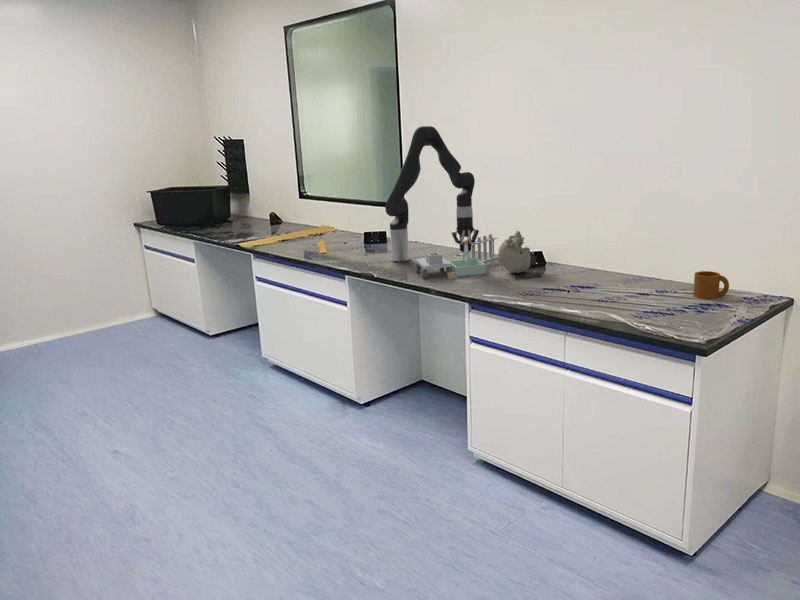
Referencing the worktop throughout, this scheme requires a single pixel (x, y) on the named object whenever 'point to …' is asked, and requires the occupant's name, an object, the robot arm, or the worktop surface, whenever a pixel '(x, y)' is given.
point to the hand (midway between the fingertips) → (465, 251)
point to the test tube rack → (484, 248)
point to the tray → (468, 267)
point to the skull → (514, 254)
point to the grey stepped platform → (433, 264)
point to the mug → (709, 285)
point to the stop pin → (465, 252)
